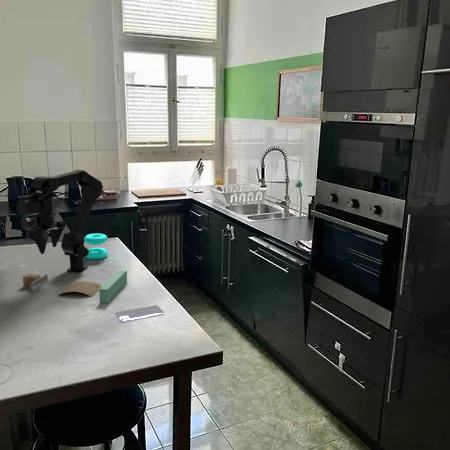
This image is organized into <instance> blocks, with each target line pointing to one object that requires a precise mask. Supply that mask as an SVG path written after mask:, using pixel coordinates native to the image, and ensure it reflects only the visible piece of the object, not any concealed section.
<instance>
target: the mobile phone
mask: <svg viewBox="0 0 450 450" xmlns="http://www.w3.org/2000/svg"><path fill="white" fill-rule="evenodd" d="M163 315H165V312H164V311H163V309H161V307H160V306H159V305H157V304H154V305H150V306H149V305H148V306H143V307H137V308H131V309H126V310H121V311H116V312H115V313H114V316H115V318H116V319H117V321H118V322H119V323H127V322H132V321H137V320H141V319H142V320H143V319H147V318H152V317H157V316H163Z"/></svg>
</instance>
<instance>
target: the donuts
mask: <svg viewBox="0 0 450 450" xmlns="http://www.w3.org/2000/svg"><path fill="white" fill-rule="evenodd" d="M84 241H85V242H84V243H86V244H87V245H89V246H90V245H92V246H97V245H98V246H99V245H102V244H105V243H106V242H107V241H108V236H107V235H106V234H104V233H97V232H96V233H89V234H86V235H85V237H84ZM88 250H89V254H88V256H86V257H85V258H86V259H89V260H101V259H105V258H107V256H108V254H109V252H108V250H107V249H106V248H104V247H92V248H89V249H88Z"/></svg>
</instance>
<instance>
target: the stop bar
mask: <svg viewBox="0 0 450 450" xmlns="http://www.w3.org/2000/svg"><path fill="white" fill-rule="evenodd" d="M127 283H128V270H127V269H117V271H116V272H115V273H114V274H113V275H112V276H111V277H110V278H109V279H108V280H107V281H106V282H105V283H104V284H103V285H101V286H102V287H101V288H100V289H99V291H98V294H99V303H101V304H109V303H110V302H111V301H112V300H113V299H114V297H116V295H117V294H119V292H120V291H121V290H123V287H124V286H126V284H127Z"/></svg>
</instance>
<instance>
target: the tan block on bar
mask: <svg viewBox="0 0 450 450" xmlns="http://www.w3.org/2000/svg"><path fill="white" fill-rule="evenodd" d="M48 278H49V277H48V274H47V273H43V275H41V276H40V274H37V273H36V274H35V273H26V274H25V275H23V276H22V283H23V285H22V286H23V287H25V288H30V290H31V292H36V291H37V290H38V289H40V288H41V287H42V286H44V285H45V284H47V283H48V282H49V279H48Z"/></svg>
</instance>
